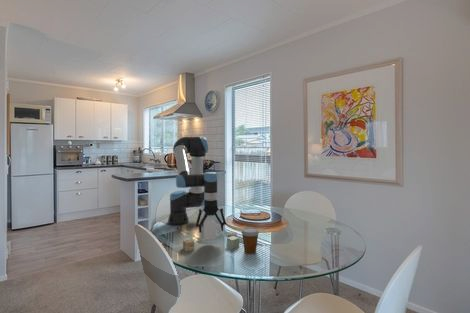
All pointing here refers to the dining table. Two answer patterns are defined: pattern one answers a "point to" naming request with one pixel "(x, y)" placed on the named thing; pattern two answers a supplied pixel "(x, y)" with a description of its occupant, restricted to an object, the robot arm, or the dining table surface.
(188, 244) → the oak cube
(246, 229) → the disposable coffee cup
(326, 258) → the dining table surface
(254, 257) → the dining table surface
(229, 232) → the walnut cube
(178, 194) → the robot arm
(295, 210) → the dining table surface
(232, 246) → the sage painted cube
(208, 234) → the mug
